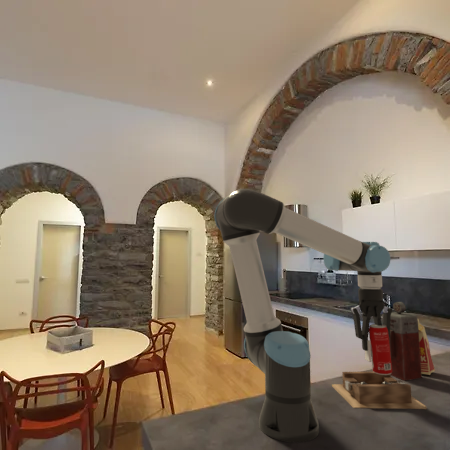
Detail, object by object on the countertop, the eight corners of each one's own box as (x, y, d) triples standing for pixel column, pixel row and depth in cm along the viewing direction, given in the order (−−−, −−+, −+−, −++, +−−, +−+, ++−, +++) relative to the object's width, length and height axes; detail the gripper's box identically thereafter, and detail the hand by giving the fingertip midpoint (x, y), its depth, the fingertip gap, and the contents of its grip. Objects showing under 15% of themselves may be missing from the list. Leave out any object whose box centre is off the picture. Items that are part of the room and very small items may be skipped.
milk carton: (410, 365, 139) (407, 317, 141) (435, 370, 132) (432, 320, 134) (403, 370, 132) (400, 320, 134) (429, 376, 126) (425, 323, 128)
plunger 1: (348, 391, 104) (348, 383, 104) (345, 388, 106) (345, 380, 107) (369, 390, 104) (369, 383, 105) (366, 388, 107) (365, 380, 107)
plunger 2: (384, 390, 104) (383, 382, 105) (380, 387, 107) (380, 380, 107) (405, 390, 105) (404, 382, 105) (400, 387, 107) (400, 380, 107)
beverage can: (395, 373, 105) (392, 325, 106) (385, 377, 101) (383, 327, 102) (377, 368, 109) (375, 322, 111) (367, 372, 105) (365, 324, 107)
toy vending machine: (380, 373, 128) (377, 301, 131) (401, 370, 132) (397, 300, 135) (399, 381, 120) (395, 304, 123) (421, 377, 124) (417, 302, 127)
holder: (353, 411, 96) (352, 389, 97) (331, 387, 114) (331, 369, 115) (426, 410, 97) (425, 388, 97) (393, 387, 114) (392, 369, 115)
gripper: (351, 289, 105) (354, 364, 103) (399, 288, 106) (404, 363, 103) (342, 287, 113) (345, 357, 110) (387, 286, 113) (391, 356, 110)
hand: (373, 360), depth 107 cm, fingers closed on beverage can, 3 cm apart
